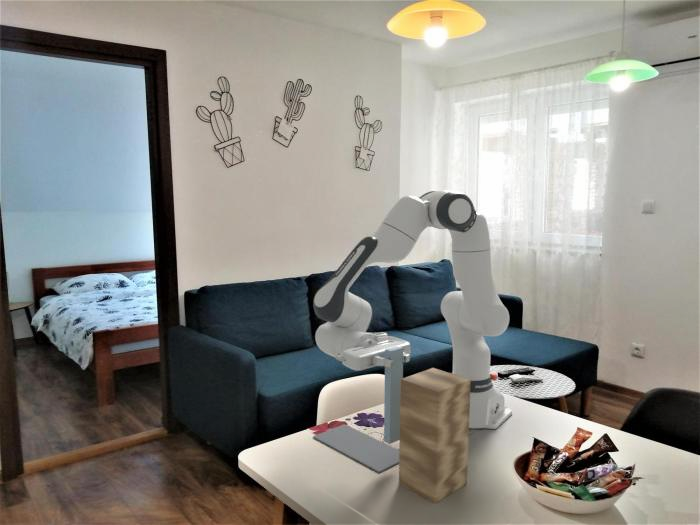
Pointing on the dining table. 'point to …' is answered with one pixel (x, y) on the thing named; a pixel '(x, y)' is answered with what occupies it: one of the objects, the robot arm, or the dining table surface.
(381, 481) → the dining table surface
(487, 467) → the dining table surface
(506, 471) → the dining table surface
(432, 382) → the oak stand
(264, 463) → the dining table surface
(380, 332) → the robot arm
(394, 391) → the slat
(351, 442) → the mat
